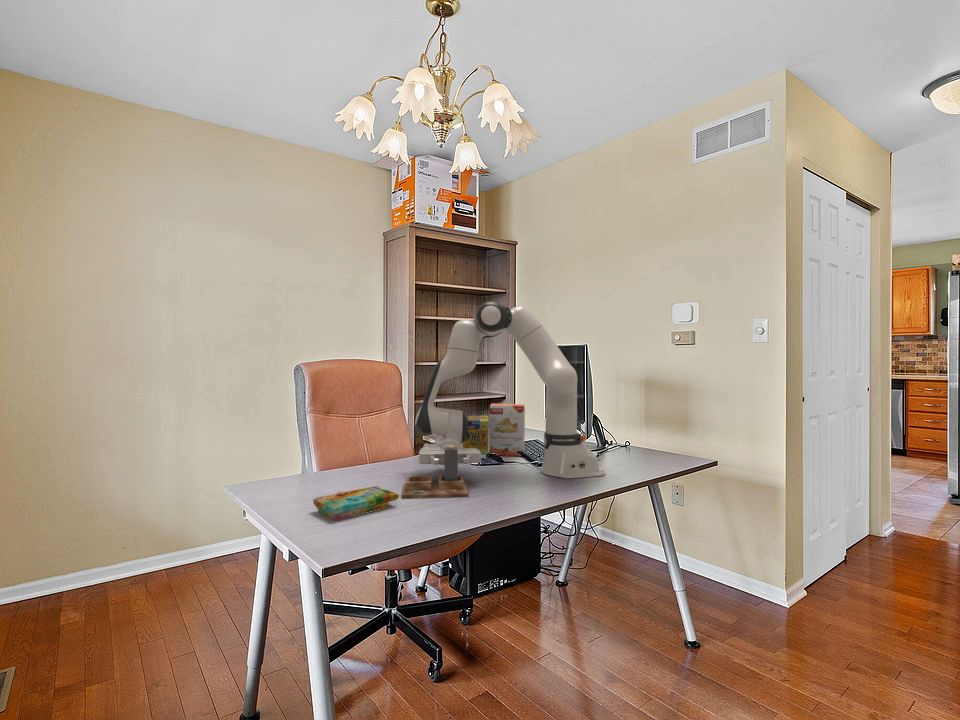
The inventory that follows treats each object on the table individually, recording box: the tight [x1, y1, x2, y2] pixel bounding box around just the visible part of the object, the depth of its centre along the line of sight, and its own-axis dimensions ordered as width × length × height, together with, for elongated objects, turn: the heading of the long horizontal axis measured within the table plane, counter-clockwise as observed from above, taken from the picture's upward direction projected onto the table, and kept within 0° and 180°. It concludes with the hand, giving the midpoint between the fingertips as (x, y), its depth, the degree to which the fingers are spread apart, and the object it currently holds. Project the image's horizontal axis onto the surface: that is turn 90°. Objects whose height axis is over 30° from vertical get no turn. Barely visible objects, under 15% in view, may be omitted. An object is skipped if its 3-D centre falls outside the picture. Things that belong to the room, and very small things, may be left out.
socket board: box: [400, 474, 470, 499], centre depth 167 cm, size 20×14×4 cm
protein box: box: [461, 414, 490, 455], centre depth 218 cm, size 10×15×16 cm
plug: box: [443, 445, 459, 481], centre depth 169 cm, size 4×4×13 cm
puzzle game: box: [312, 485, 400, 521], centre depth 149 cm, size 12×5×20 cm
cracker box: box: [488, 403, 526, 458], centre depth 219 cm, size 14×6×21 cm, turn 81°
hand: (450, 461), depth 168 cm, fingers open, 8 cm apart
